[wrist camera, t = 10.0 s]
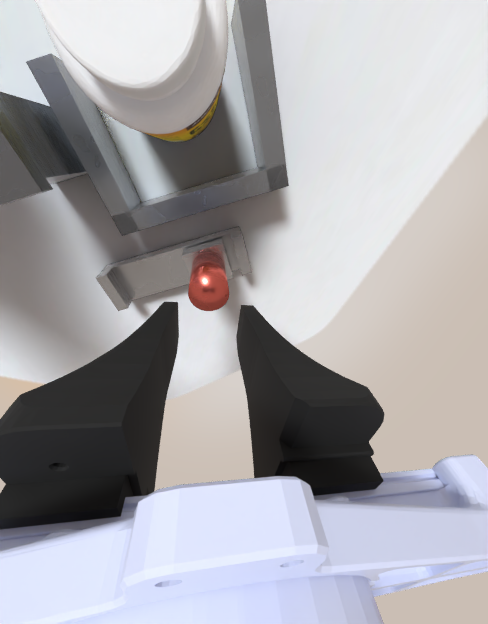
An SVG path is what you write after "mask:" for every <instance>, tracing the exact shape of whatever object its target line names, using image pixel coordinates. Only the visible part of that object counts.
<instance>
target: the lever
mask: <svg viewBox="0 0 488 624" xmlns="http://www.w3.org/2000/svg"><path fill="white" fill-rule="evenodd" d="M182 257H183V260H184V262H185V264H186V267H187V269H188V271H189V274H190V283H189V291H188V296H189V299H190V301H191V303H192V304H193V305H194V306H195V307H197V308H199V309H201V310H204V311H213V310H217V309H219V308H221V307H222V306H224V305H225V303H226V302H227V300H228V298H229V288H228V282H227V280H229V279H233V274H232V270H231V267H230V263H229V260H228V257H227V254H226V250H225V247H224V244H223V241H222V239H218V240H215V241H211V242H208V243H205V244H201V245H198V246H194V247H191V248H188V249H184V250H183V253H182Z"/></svg>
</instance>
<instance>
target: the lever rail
mask: <svg viewBox="0 0 488 624" xmlns="http://www.w3.org/2000/svg"><path fill="white" fill-rule="evenodd" d="M218 239H222V241H223V244H224V247H225V250H226V254H227V257H228V260H229V263H230V267H231V270H232V271H235V270H239V269H240V270H241V273H242V275H245V274H248V273H252V271H251V267H250V263H249V259H248V255H247V251H246V247H245V243H244V239H243V235H242V233H241V230H240V228H239V226H238V227H234V228H231V229H228V230H224V231H221V232H218V233H214V234H211V235H207V236H204V237H201V238H197V239H194V240H190V241H187V242H184V243H180V244H177V245H174V246H170V247H167V248H163V249H160V250H157V251H153V252H150V253H146V254H143V255H140V256H136V257H133V258H130V259H126V260H123V261H119V262H116V263H113V264H109V265H107V266H106V267H105V268H104V269H103V270H102V272H101V273H100V274H99V275H98V276H97V277H96V279H97V281H98V282H99V283H100V285H101V286H102V288H103V289H104V291H105V292H106V294H107V295H108V297H109V298H110V299H111V301H112V302H113V304H114V305H115V307H116V308H117V310H118V311H120V310H123V309H127V308H128V307H129V305H130V303H131V301H132V300H135V299H138V298H142V297H145V296H149V295H152V294H156V293H159V292H163V291H166V290H170V289H173V288H176V287H180V286H183V285H187V284H189V283H190V274H189V271H188V269H187V267H186V264H185V262H184V260H183V257H182V253H183V250H184V249H188V248H191V247H194V246H198V245H201V244H205V243H208V242H211V241H215V240H218Z"/></svg>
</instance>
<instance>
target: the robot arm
mask: <svg viewBox="0 0 488 624" xmlns="http://www.w3.org/2000/svg"><path fill="white" fill-rule="evenodd" d="M178 337H179V328H178V302H164V303H163V304H162V305H161V306H160V307H159V308H158V309H157V310H156V311H155V312H154V314H153V315H152V316H151V317H150V318H149V319H148V320H147V321H146V322H145V323H144V324H143V325H142V326H141V327H139V328H138V329H137V330H136V331H135V332H134V333H133V334H131V335H130V336H129V337H128V338H127V339H125V340H124V341H123V342H122V343H120V344H119V345H117V346H116V347H115V348H113V349H112V350H110V351H109V352H107V353H105V354H104V355H102V356H100V357H99V358H97V359H95V360H94V361H92V362H90V363H89V364H87V365H85V366H83V367H81V368H79V369H77V370H75V371H73V372H71V373H69V374H67V375H65V376H63V377H61V378H59V379H57V380H54V381H52V382H50V383H47V384H45V385H43V386H40V387H38V388H36V389H33V390H31V391H28V392H26V393H24V394H21V395H20V396H19V397H18V398H17V399H16V400H15V402H14V403H13V404H12V405H11V406H10V407H9V409H8V410H7V411H6V413H5V414H4V415H3V417H2V418H1V419H0V478H1V479H2V480H3V481H4V482H5V483H6V485H5V487H4V488H3V490H2V492H1V493H0V624H384V623H383V620H382V618H381V615H380V612H379V610H378V607H377V604H376V602H375V599H374V597H376V596H380V595H385V594H389V593H393V592H398V591H402V590H406V589H411V588H415V587H419V586H423V585H428V584H432V583H436V582H441V581H445V580H450V579H455V578H459V577H463V576H468V575H473V574H478V573H483V572H488V468H487V467H486V466H485V465H484V464H483V463H482V462H481V460H480V459H479V458H478V457H477V456H476V455H461V456H450V457H446V458H444V459H442V460H440V461H439V462H437V463H436V464H435V465H434V466H433V468H432V469H422V470H411V471H401V472H390V473H379V471H378V469H377V467H376V465H375V464H374V462H373V460H372V458H371V456H372V455H373V454H374V452H373V449H372V448H371V446H370V444H369V440H370V439H371V438H372V437H373V435H374V434H375V433H376V431H377V430H378V429H379V427H380V426H381V424H382V422H383V419H384V412H383V409H382V408H381V406H380V405H379V403H378V402H377V400H376V399H375V398H374V396H373V394H372V393H371V392H370V390H369V389H368V388H367V387H365V386H363V385H361V384H359V383H356V382H354V381H352V380H350V379H347V378H345V377H343V376H341V375H339V374H337V373H335V372H333V371H331V370H329V369H328V368H326V367H324V366H322V365H321V364H319V363H317V362H315V361H314V360H313V359H311V358H310V357H308V356H307V355H305V354H303V353H302V352H301V351H300V350H298V349H297V348H296V347H294V346H293V345H292V344H290V343H289V342H288V341H287V340H286V339H285V338H283V337H282V336H281V335H280V334H279V333H278V332H277V331H276V330H275V329H274V328H273V327H272V326H271V325H270V324H269V323H268V322H267V321H266V320H265V319H264V317H263V316H262V315H261V314H260V313H259V312H258V311H257V310H256V308H255V307H254V306H248V305H241V310H240V316H239V323H238V330H237V350H238V357H239V362H240V366H241V371H242V375H243V380H244V384H245V388H246V394H247V400H248V409H249V419H250V428H251V440H252V452H253V464H254V478H251V479H240V480H228V481H218V482H206V483H194V484H183V485H177V486H172V487H167V488H162V489H158V490H156V491H154V488H155V479H156V470H157V462H158V453H159V444H160V438H161V430H162V421H163V415H164V407H165V401H166V396H167V391H168V387H169V383H170V379H171V375H172V371H173V367H174V362H175V358H176V354H177V346H178Z"/></svg>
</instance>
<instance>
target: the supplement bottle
mask: <svg viewBox="0 0 488 624" xmlns="http://www.w3.org/2000/svg"><path fill="white" fill-rule="evenodd" d="M35 2H36V4H37V6H38V8H39V10H40V12H41V14H42V17H43V20H44V23H45V25H46V28H47V31H48V33H49V36H50V38H51V40H52V42H53V45H54V47H55V49H56V51H57V53H58V54H59V56H60V58H61V60H62V62H63V63H64V65H65V67H66V68H67V70H68V72H69V73H70V75H71V76H72V77H73V79H74V80H75V82H76V83H77V84H78V85H79V87H80V88H81V89H82V90H83V91H84V93H85V94H86V95H87V96H88V97H89V98H90V99H91V100H92V101H93V102H94V103H95V104H96V105H97V106H98V107H99V108H100V109H102V110H103V111H104V112H105V113H107V114H108V115H109V116H111V117H112V118H114V119H115V120H117V121H118V122H120V123H122V124H124V125H126V126H128V127H130V128H132V129H135V130H137V131H140V132H143V133H146V134H148V135H151V136H154V137H156V138H159V139H162V140H165V141H170V142H184V141H188V140H190V139H193V138H195V137H196V136H198V135H199V134H200V133H201V132H203V131H204V129H205V128H206V127H207V126H208V124H209V123H210V121H211V119H212V117H213V115H214V112H215V109H216V106H217V102H218V97H219V93H220V89H221V85H222V80H223V75H224V72H225V65H226V58H227V48H228V16H227V6H226V0H35Z"/></svg>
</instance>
